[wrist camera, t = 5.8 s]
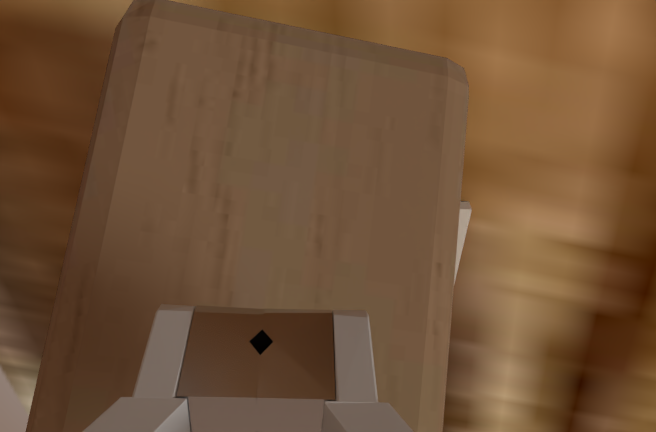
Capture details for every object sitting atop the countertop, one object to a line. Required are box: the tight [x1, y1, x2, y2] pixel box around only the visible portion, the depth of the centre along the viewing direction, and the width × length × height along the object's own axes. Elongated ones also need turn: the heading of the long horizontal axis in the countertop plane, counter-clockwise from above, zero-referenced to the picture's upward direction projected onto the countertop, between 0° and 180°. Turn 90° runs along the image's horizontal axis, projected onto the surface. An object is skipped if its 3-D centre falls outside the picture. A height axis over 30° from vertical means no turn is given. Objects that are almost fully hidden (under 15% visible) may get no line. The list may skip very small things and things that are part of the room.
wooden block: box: [26, 0, 469, 432], centre depth 19 cm, size 10×10×20 cm
